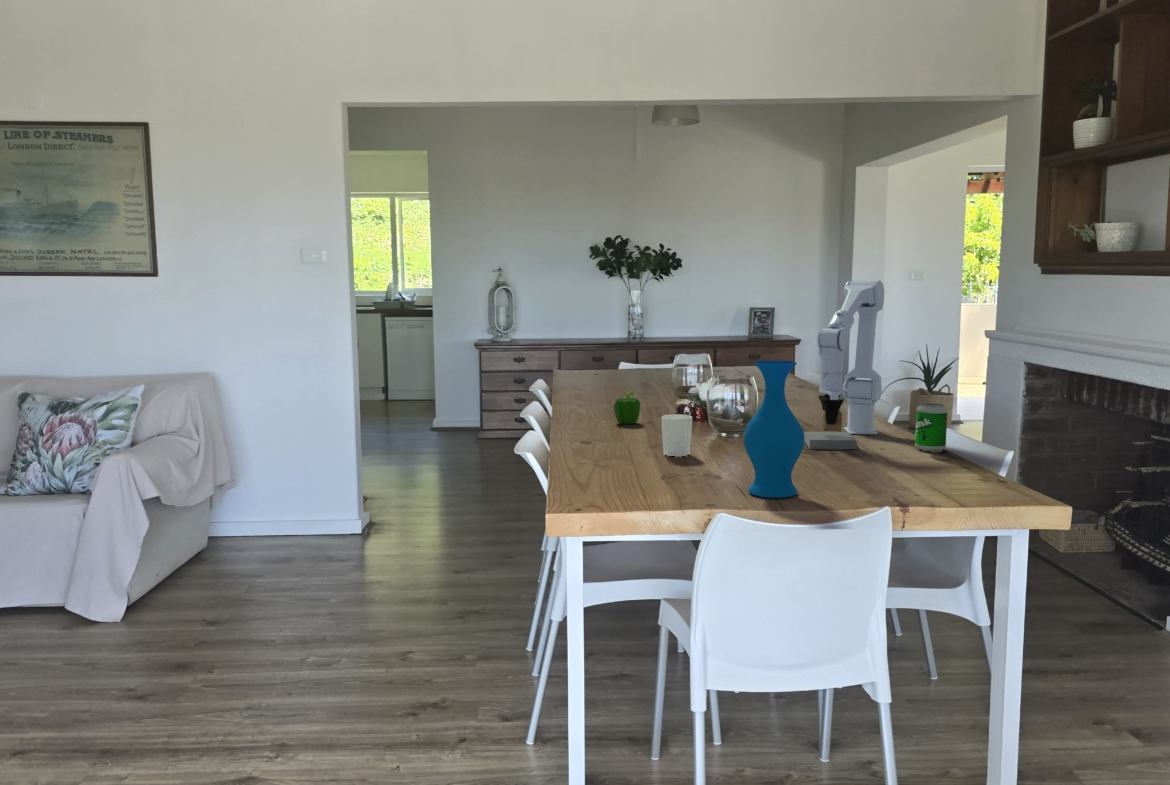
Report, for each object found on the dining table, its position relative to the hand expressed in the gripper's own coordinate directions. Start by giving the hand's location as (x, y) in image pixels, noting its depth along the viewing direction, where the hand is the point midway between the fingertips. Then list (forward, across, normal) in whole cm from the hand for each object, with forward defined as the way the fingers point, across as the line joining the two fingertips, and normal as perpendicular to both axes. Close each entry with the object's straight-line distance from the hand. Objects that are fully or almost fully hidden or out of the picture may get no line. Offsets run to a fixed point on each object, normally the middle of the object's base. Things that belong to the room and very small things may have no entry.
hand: (829, 422), depth 236 cm
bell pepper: (+6, +30, +58) cm, 65 cm away
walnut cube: (+2, 0, 0) cm, 2 cm away
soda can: (+6, -4, -25) cm, 26 cm away
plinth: (+6, 0, 0) cm, 6 cm away
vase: (+6, -55, +19) cm, 59 cm away
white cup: (+6, -17, +41) cm, 44 cm away
